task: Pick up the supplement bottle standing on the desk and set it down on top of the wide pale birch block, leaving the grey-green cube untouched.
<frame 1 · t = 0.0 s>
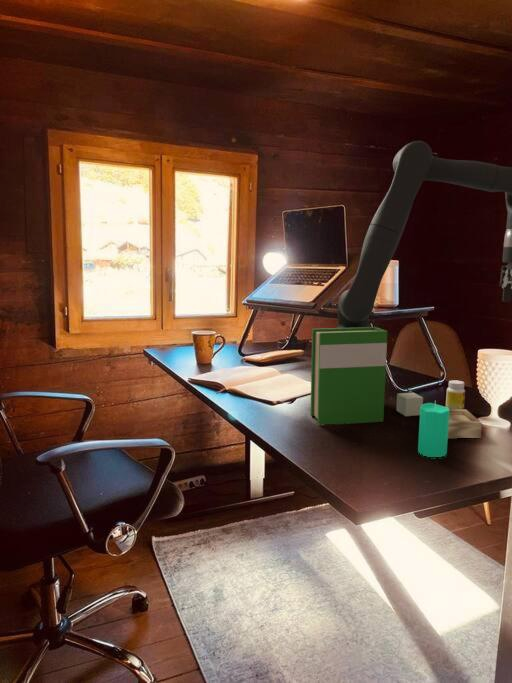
birch block: (452, 431, 122), on the table
candle: (432, 453, 108), on the table
hardback book: (346, 419, 131), on the table
supplement bottle: (454, 411, 137), on the table
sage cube: (409, 413, 136), on the table
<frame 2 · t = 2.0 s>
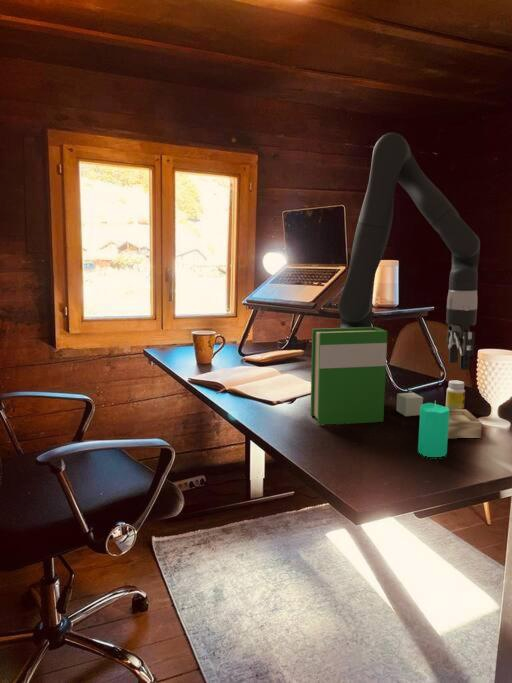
hand: (458, 365, 135), 13 cm above the table, tool pointing down, fingers open, 8 cm apart
nothing on the table moved.
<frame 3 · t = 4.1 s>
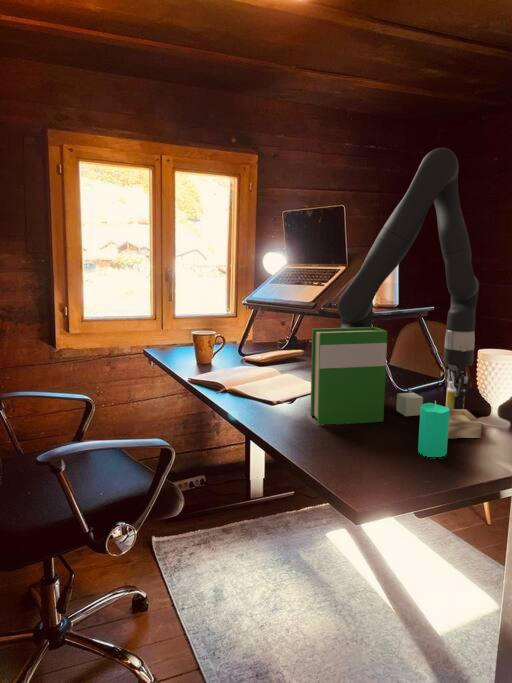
hand: (454, 406, 137), 1 cm above the table, tool pointing down, fingers closed on supplement bottle, 4 cm apart
supplement bottle: (454, 411, 137), on the table, touching gripper
everything else where it was.
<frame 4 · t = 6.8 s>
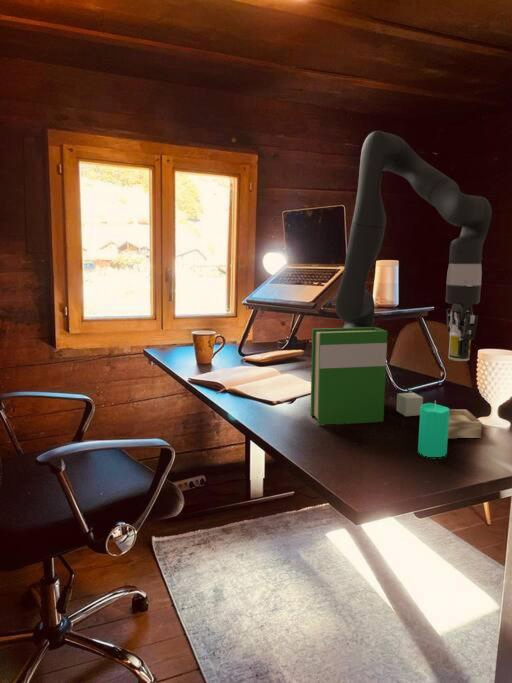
hand: (458, 353, 118), 20 cm above the table, tool pointing down, fingers closed on supplement bottle, 4 cm apart
supplement bottle: (458, 360, 119), point 18 cm above the table, touching gripper
everything else where it was.
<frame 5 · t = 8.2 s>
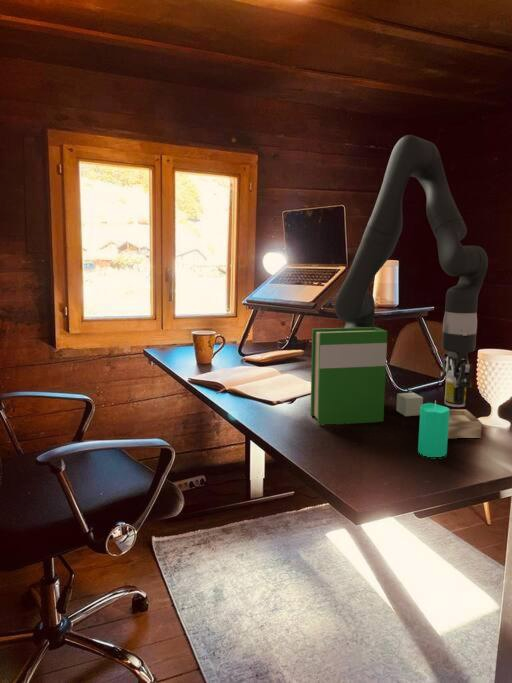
hand: (454, 398, 120), 8 cm above the table, tool pointing down, fingers closed on supplement bottle, 4 cm apart
supplement bottle: (454, 405, 120), point 7 cm above the table, touching gripper
everything else where it was.
when the fingers open (5 cm above the table, at t = 9.6 s): supplement bottle stays where it is, resting on birch block.
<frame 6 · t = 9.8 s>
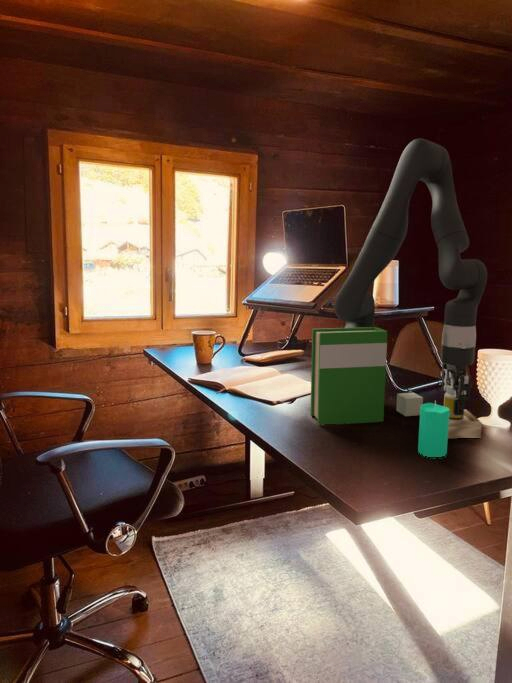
hand: (453, 410, 121), 5 cm above the table, tool pointing down, fingers open, 6 cm apart
supplement bottle: (452, 420, 121), point 3 cm above the table, touching birch block
everything else where it was.
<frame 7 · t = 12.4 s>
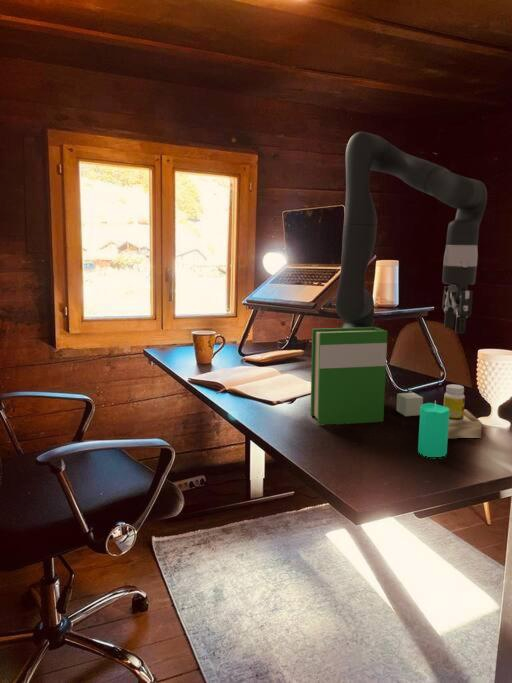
hand: (454, 330, 122), 25 cm above the table, tool pointing down, fingers open, 8 cm apart
nothing on the table moved.
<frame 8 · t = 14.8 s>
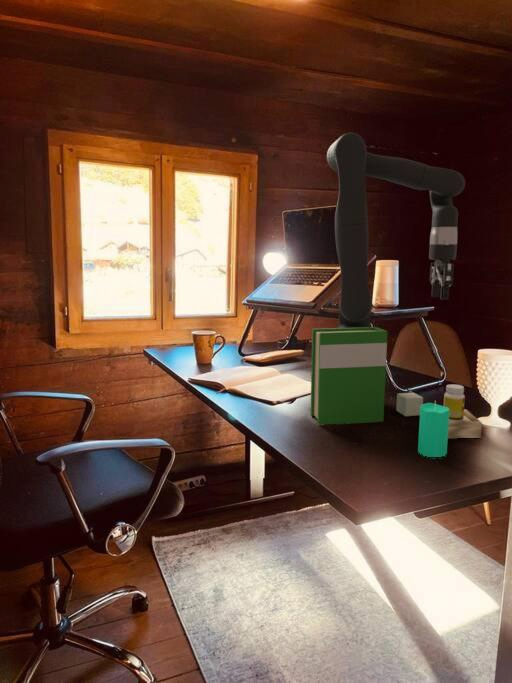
hand: (439, 298, 147), 30 cm above the table, tool pointing down, fingers open, 8 cm apart
nothing on the table moved.
at the end: supplement bottle inside the target area on the birch block (0.2 cm from its centre), point 2.8 cm above the birch block's base; supplement bottle tilted 0°; the gripper is holding nothing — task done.
